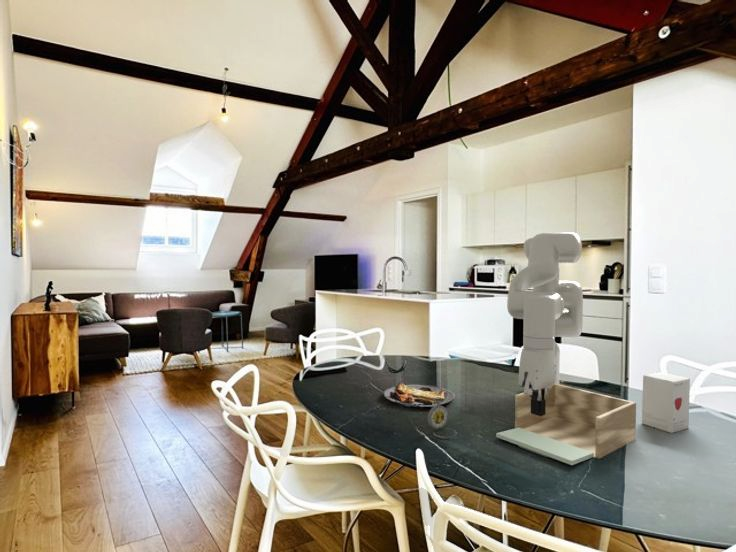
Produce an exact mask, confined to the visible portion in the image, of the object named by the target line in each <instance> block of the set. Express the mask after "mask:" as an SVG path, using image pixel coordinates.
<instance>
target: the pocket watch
mask: <svg viewBox="0 0 736 552" xmlns="http://www.w3.org/2000/svg"><path fill="white" fill-rule="evenodd" d="M436 398H440V397H436ZM436 398H435V399H436ZM435 399H434V402H435ZM440 399H441V398H440ZM441 402H442V399H441V400H440V401H439V400H438V402H435V403H437V406H434V407H431V408H430V410H429V412H428V414H427V422H428V425H429V426H430V427H431V428H433V429H434V431H437V430H440V429H443V428H444V427H445V425H447V422H448V420H449V411H448V410H447V408H446V407H444V406H443V405H441V404H440V403H441ZM446 429H448V430H450V428H449V427H448V428H447V427H446ZM453 431H454V432H455V434H454V435H451V436H449V437H447V436H443V435H441V434H438V433H436V432H432V434H433V436H434V437H436V438H438V439H442V440H449V438H450V437H454V436H456V435H458V433H457V431H456V430H455V429H453Z"/></svg>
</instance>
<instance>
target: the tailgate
mask: <svg viewBox="0 0 736 552" xmlns="http://www.w3.org/2000/svg"><path fill="white" fill-rule="evenodd" d="M495 438H497V439H500V440H504V441H506V442H509V443H511V444H514V445H517V446H518V447H519V448H522V449H524V450H526V451H529V452H531V453H534V454H537V455H539V456H542V457H545V458H551V459H553V460H557V461H559V462H562V463H565V464H567V465H570V466H574V465H577V464H579V463H581V462H585V461H586V460H589V459H592V458H595V457H594V453H593V452H590V451H587V450H584V449H581V448H578V447H575V446H572V445H569V444H566V443H563V442H560V441H557V440H554V439H551V438H549V437H546V436H543V435H540V434H537V433H534V432H531V431H528V430H525V429H522V428H519V427H518V428H515V427H514V428H512V429H511V428H510V429H508V430H504V431H500V432H496V435H495Z"/></svg>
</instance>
